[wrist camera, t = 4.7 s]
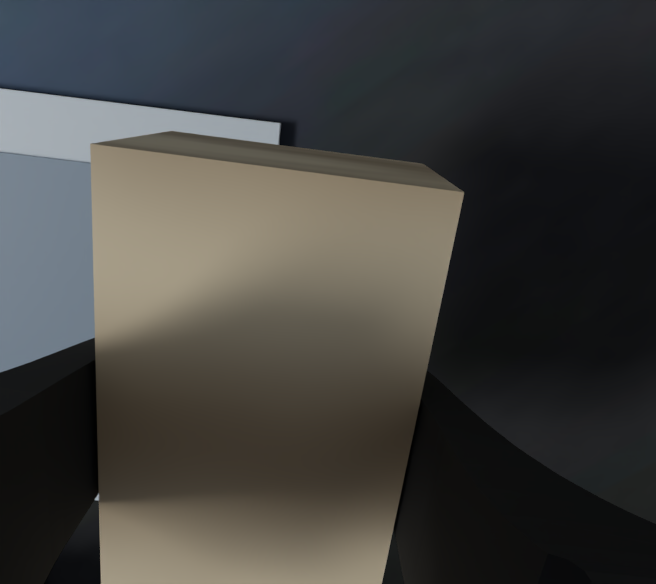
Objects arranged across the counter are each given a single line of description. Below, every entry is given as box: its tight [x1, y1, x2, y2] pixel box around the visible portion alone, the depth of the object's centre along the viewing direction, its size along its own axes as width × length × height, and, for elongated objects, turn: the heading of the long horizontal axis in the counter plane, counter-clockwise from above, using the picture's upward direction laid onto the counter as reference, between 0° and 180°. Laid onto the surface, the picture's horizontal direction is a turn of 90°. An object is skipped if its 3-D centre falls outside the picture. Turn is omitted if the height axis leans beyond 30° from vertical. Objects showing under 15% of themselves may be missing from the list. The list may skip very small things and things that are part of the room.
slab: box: [90, 131, 464, 584], centre depth 11 cm, size 10×6×4 cm, turn 173°
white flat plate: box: [0, 88, 281, 500], centre depth 20 cm, size 16×18×1 cm
